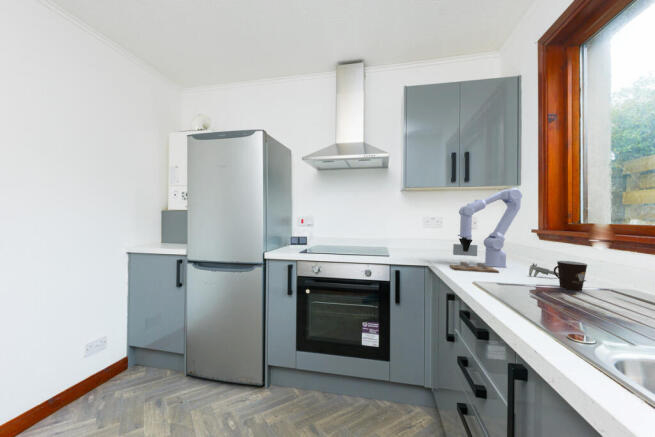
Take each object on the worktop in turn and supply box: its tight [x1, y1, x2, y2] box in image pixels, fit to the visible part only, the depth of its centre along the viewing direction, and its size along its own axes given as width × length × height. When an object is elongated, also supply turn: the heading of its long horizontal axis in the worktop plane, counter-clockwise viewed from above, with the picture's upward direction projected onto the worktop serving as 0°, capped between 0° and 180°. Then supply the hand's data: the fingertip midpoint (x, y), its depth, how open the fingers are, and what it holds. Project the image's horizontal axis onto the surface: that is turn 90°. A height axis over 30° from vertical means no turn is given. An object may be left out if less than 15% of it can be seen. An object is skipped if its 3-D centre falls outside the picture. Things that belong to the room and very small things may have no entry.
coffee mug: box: [553, 260, 588, 292], centre depth 104 cm, size 12×9×10 cm
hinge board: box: [449, 261, 500, 274], centre depth 137 cm, size 20×10×3 cm, turn 78°
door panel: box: [452, 243, 478, 257], centre depth 151 cm, size 12×2×6 cm, turn 78°
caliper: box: [528, 263, 587, 282], centre depth 121 cm, size 20×1×6 cm, turn 67°
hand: (465, 251), depth 151 cm, fingers closed on door panel, 2 cm apart
